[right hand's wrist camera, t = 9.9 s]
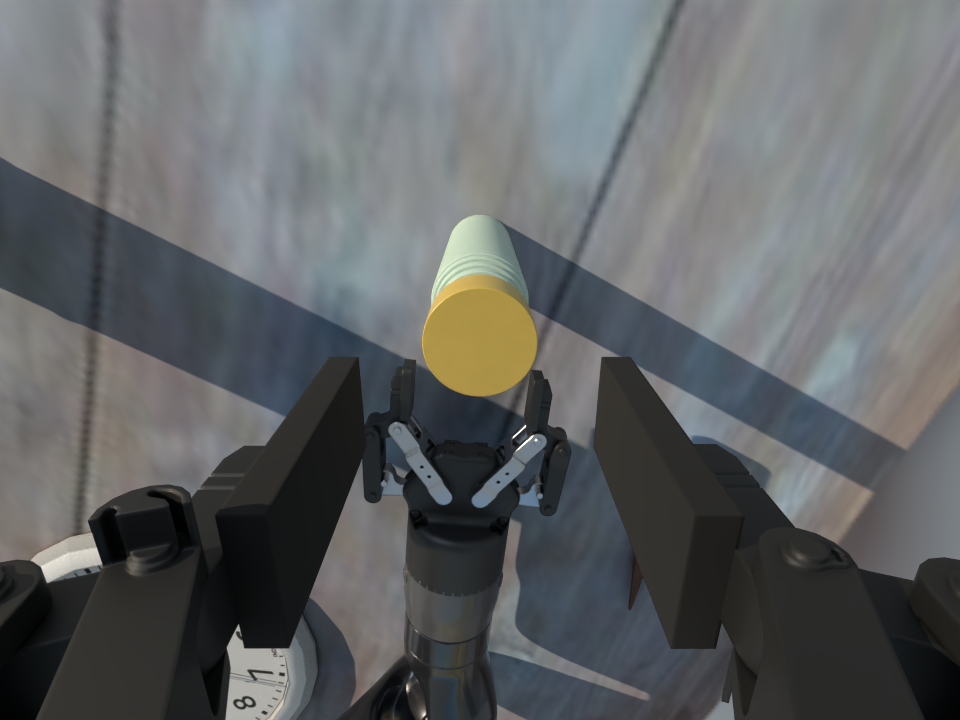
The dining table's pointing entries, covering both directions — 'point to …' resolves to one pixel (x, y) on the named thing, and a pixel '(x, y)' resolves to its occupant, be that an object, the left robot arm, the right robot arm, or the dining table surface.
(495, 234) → the bottle
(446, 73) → the dining table surface
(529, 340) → the cap
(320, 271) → the dining table surface
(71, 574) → the wall clock
